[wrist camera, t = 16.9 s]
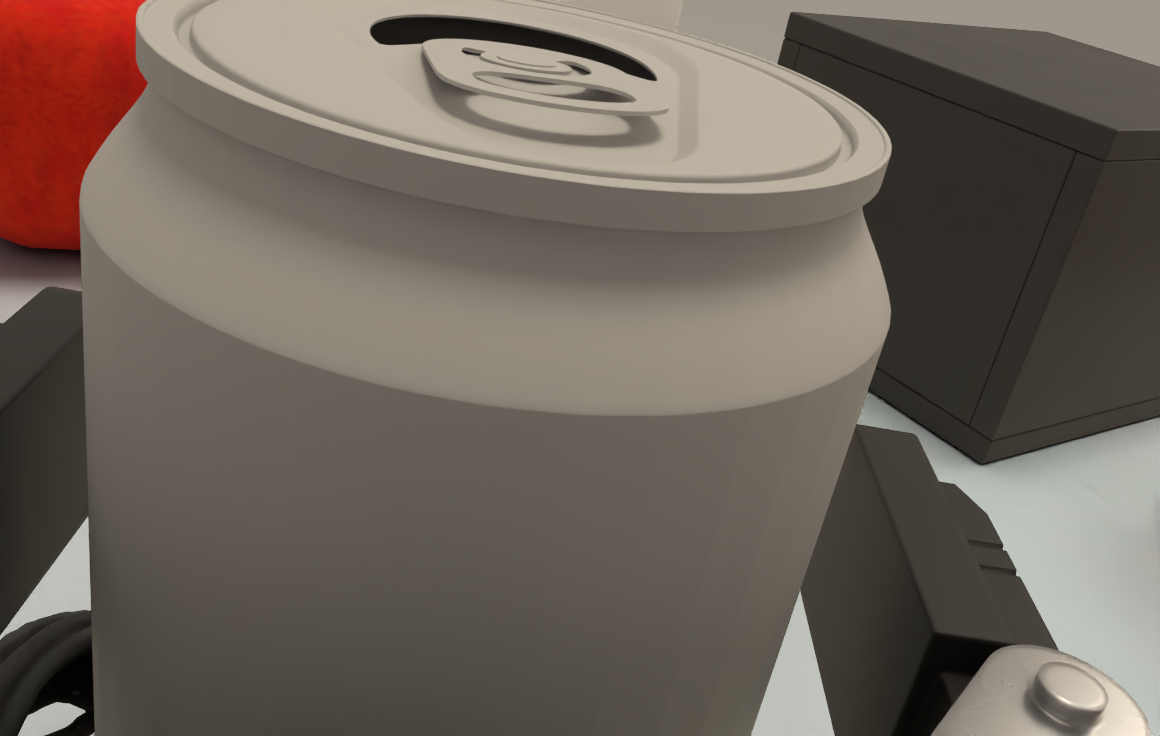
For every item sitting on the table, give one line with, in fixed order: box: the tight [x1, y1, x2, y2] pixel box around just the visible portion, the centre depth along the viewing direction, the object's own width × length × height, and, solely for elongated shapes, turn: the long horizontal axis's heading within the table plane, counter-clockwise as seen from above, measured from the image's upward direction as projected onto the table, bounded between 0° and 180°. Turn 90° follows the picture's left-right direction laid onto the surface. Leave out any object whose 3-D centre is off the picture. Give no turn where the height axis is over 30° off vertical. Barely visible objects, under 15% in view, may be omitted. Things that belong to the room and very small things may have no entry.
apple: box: [0, 0, 148, 250], centre depth 32 cm, size 9×9×8 cm
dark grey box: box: [778, 12, 1160, 463], centre depth 37 cm, size 14×12×10 cm
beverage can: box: [79, 0, 892, 736], centre depth 11 cm, size 6×6×12 cm
